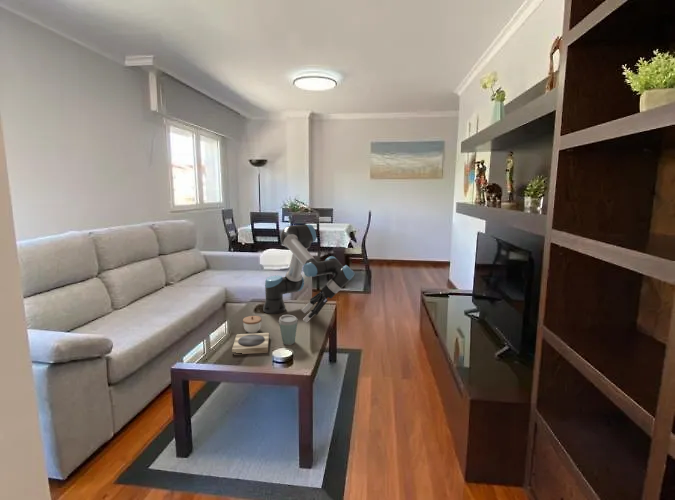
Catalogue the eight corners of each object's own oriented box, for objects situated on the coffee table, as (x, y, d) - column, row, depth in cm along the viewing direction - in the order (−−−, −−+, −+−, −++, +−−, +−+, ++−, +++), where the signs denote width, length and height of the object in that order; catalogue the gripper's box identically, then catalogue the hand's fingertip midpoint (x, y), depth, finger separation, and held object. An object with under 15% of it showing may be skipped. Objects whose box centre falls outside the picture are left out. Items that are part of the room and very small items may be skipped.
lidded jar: (265, 329, 217) (264, 314, 215) (255, 336, 207) (255, 321, 206) (249, 326, 221) (249, 312, 219) (239, 333, 211) (239, 318, 209)
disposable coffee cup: (301, 340, 203) (300, 315, 200) (293, 348, 193) (293, 322, 190) (283, 337, 206) (283, 312, 203) (275, 345, 196) (275, 319, 193)
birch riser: (236, 339, 203) (236, 333, 203) (269, 337, 206) (268, 332, 205) (232, 354, 186) (232, 348, 185) (267, 352, 188) (267, 346, 188)
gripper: (339, 301, 185) (310, 329, 186) (332, 286, 210) (307, 312, 210) (329, 291, 184) (300, 320, 184) (323, 278, 208) (297, 304, 208)
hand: (303, 316), depth 197 cm, fingers open, 13 cm apart
